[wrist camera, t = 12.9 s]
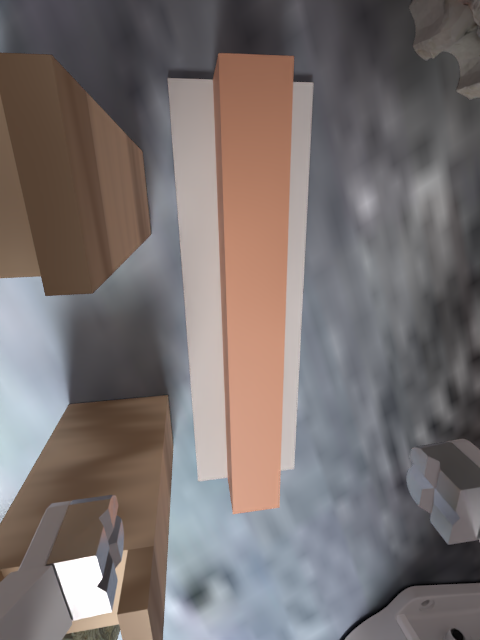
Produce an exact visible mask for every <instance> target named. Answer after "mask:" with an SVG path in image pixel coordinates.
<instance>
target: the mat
mask: <svg viewBox="0 0 480 640" xmlns="http://www.w3.org/2000/svg"><path fill="white" fill-rule="evenodd" d="M168 91H169V104H170V117H171V130H172V144H173V157H174V170H175V183H176V196H177V209H178V222H179V235H180V248H181V261H182V275H183V288H184V301H185V314H186V327H187V340H188V353H189V366H190V379H191V392H192V406H193V419H194V432H195V445H196V458H197V471H198V481H205V480H213V479H220V478H228V472H227V445H226V418H225V391H224V364H223V337H222V310H221V283H220V256H219V229H218V202H217V175H216V148H215V121H214V94H213V79H181V78H168ZM312 103H313V82H293V103H292V134H291V164H290V195H289V226H288V256H287V287H286V318H285V348H284V379H283V409H282V440H281V471H282V470H290V469H294V460H295V440H296V420H297V401H298V381H299V361H300V341H301V321H302V301H303V281H304V262H305V242H306V222H307V202H308V182H309V162H310V142H311V123H312Z"/></svg>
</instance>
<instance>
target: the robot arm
mask: <svg viewBox="0 0 480 640" xmlns="http://www.w3.org/2000/svg"><path fill="white" fill-rule="evenodd" d="M409 459H410V460H411V461H412V462H413V465H412V466H411V467H410V468H409V469H408V471H407V480H406V481H407V485H408V489H409V492H410V494H411V496H412V498H413V499H414V501H415V502H416V503H417V505H418V506H419V507H420V508H422V509H424V510H425V511H427V512H429V513H430V522H431V523H432V524H433V526H434V527H435V528H436V530H437V531H438V532H439V534H440V535H441V536H442V537H443V539H444V540H445V541H446V543H447V544H448V545H450V544H457V543H463V542H469V541H475V540H479V542H480V449H478V448H477V447H476V446H475V445H474V444H472V443H471V442H470V441H468V440H466V439H458V440H452V441H447V442H440V443H434V444H428V445H422V446H416V447H413V449H412V450H411V451H410V457H409ZM118 506H119V505H118V502H117V498H116V496H115V495H107V496H100V497H92V498H85V499H77V500H73V501H65V502H58V503H52V504H51V505H50V506H49V507H48V508H47V509H46V511H45V513H44V515H43V517H42V519H41V522H40V524H39V526H38V528H37V530H36V533H35V535H34V537H33V539H32V541H31V543H30V546H29V548H28V550H27V552H26V554H25V556H24V559H23V561H22V563H21V565H20V567H19V569H18V571H15V572H11V573H10V574H8V575H7V576H6V577H5V578H4V579H3V580H2V581H1V582H0V640H62V639H63V637H64V636H65V634H66V633H67V631H68V630H69V628H70V627H71V625H72V621H75V620H79V619H84V618H88V617H92V616H97V615H101V614H105V613H110V612H112V609H113V604H114V598H115V593H116V588H117V582H118V579H117V575H116V571H115V568H116V567H117V566H118V565H119V563H120V562H121V560H122V554H123V547H124V529H123V523H122V518H120V517H119V516H117V510H118ZM345 640H480V583H468V584H447V585H426V586H412V587H409V588H407V589H405V590H403V591H402V592H401V593H400V594H399V595H398V596H397V597H395V599H394V600H393V601H392V602H391V603H390V604H389V605H388V606H387V607H386V608H384V609H383V610H381V611H380V612H378V613H377V614H375V615H373V616H372V617H370V618H369V619H367V620H366V621H364V622H363V623H361V624H360V625H359V626H358V627H356V628H355V629H354V630H353V631H352V632H351V633H350V634H349V635H348V636H347V637H346V638H345Z"/></svg>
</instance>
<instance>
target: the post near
mask: <svg viewBox="0 0 480 640" xmlns="http://www.w3.org/2000/svg"><path fill="white" fill-rule="evenodd" d="M150 235H151V227H150V217H149V208H148V198H147V189H146V179H145V169H144V160H143V152H142V150H141V149H140V148H139V147H138V146H137V145H136V144H135V143H134V142H133V141H132V140H131V139H130V138H129V137H128V136H127V135H126V133H125V132H124V131H123V130H122V129H121V128H120V127H119V126H118V125H117V124H116V123H115V122H114V121H113V120H112V119H111V118H110V116H109V115H108V114H107V113H106V112H105V111H104V110H103V109H102V108H101V107H100V106H99V105H98V104H97V103H96V102H95V101H94V99H93V98H92V97H91V96H90V95H89V94H88V93H87V92H86V91H85V90H84V89H83V88H82V87H81V86H80V85H79V84H78V82H77V81H76V80H75V79H74V78H73V77H72V76H71V75H70V74H69V73H68V72H67V71H66V70H65V69H64V68H63V67H62V65H61V64H60V63H59V62H58V61H57V60H56V59H55V58H54V57H53V56H52V55H47V54H21V53H0V278H14V277H36V276H41V278H42V283H43V287H44V292H45V296H53V295H72V294H91V293H94V292H95V291H96V290H97V289H98V288H99V287H100V286H101V285H102V284H103V283H104V282H105V281H106V280H107V279H108V278H109V277H110V276H111V275H112V274H113V273H114V272H115V271H116V270H117V269H118V268H119V267H120V265H121V264H122V263H123V262H124V261H125V260H126V259H127V258H128V257H129V256H130V255H131V254H132V253H133V252H134V251H135V250H136V249H137V248H138V247H139V246H140V245H141V244H142V243H143V242H144V241H145V240H146V239H147V238H148V237H149V236H150Z"/></svg>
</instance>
